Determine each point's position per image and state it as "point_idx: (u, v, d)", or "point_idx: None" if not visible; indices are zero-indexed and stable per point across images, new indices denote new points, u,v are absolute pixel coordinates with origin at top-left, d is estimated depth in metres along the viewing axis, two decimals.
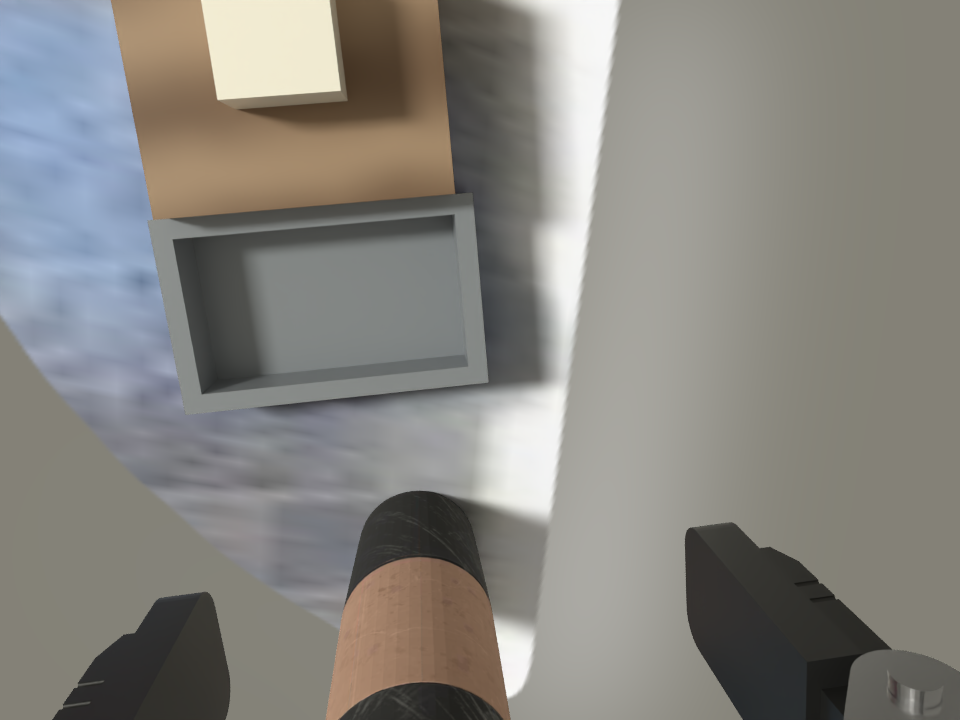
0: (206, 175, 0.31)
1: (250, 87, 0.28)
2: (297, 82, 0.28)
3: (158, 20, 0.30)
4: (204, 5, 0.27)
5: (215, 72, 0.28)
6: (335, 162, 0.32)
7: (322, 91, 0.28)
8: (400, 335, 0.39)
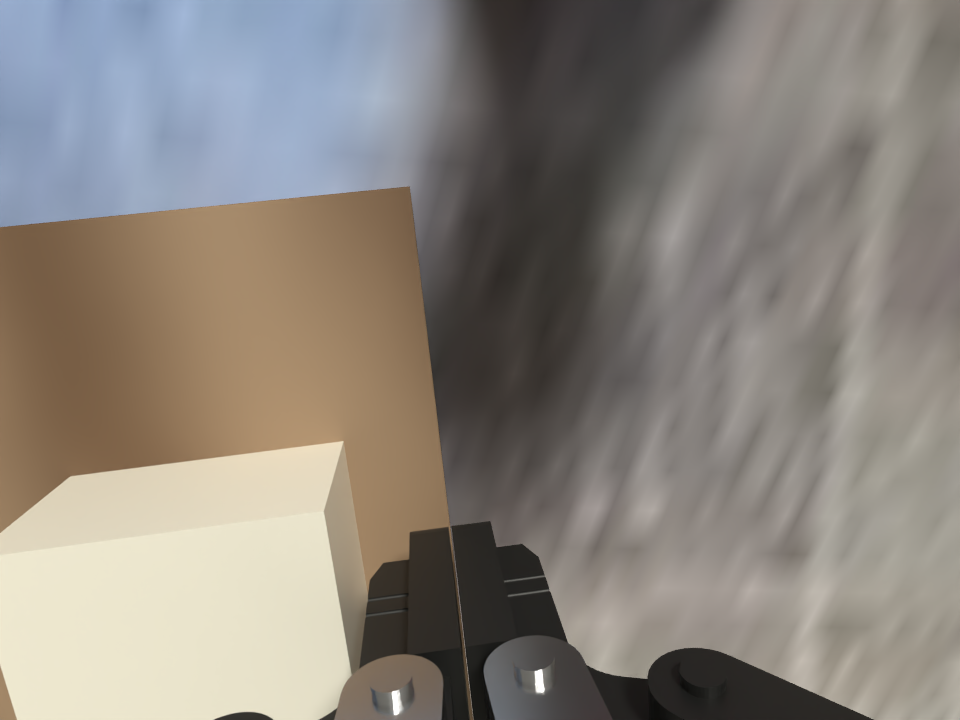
0: None
1: (21, 640, 0.10)
2: None
3: (275, 306, 0.12)
4: (221, 532, 0.10)
5: (45, 556, 0.10)
6: None
7: None
8: None
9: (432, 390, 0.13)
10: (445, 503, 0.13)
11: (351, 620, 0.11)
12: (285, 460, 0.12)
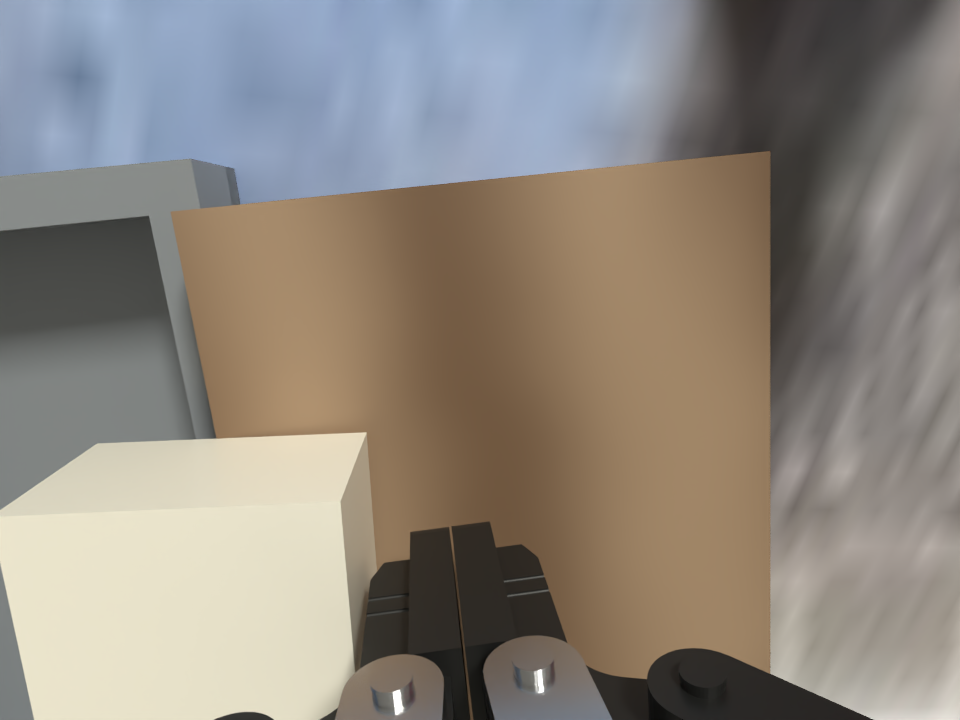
0: (299, 351, 0.13)
1: (35, 601, 0.10)
2: (61, 710, 0.11)
3: (642, 263, 0.13)
4: (237, 514, 0.10)
5: (64, 520, 0.10)
6: None
7: None
8: None
9: None
10: (768, 449, 0.14)
11: (359, 613, 0.11)
12: (307, 446, 0.12)
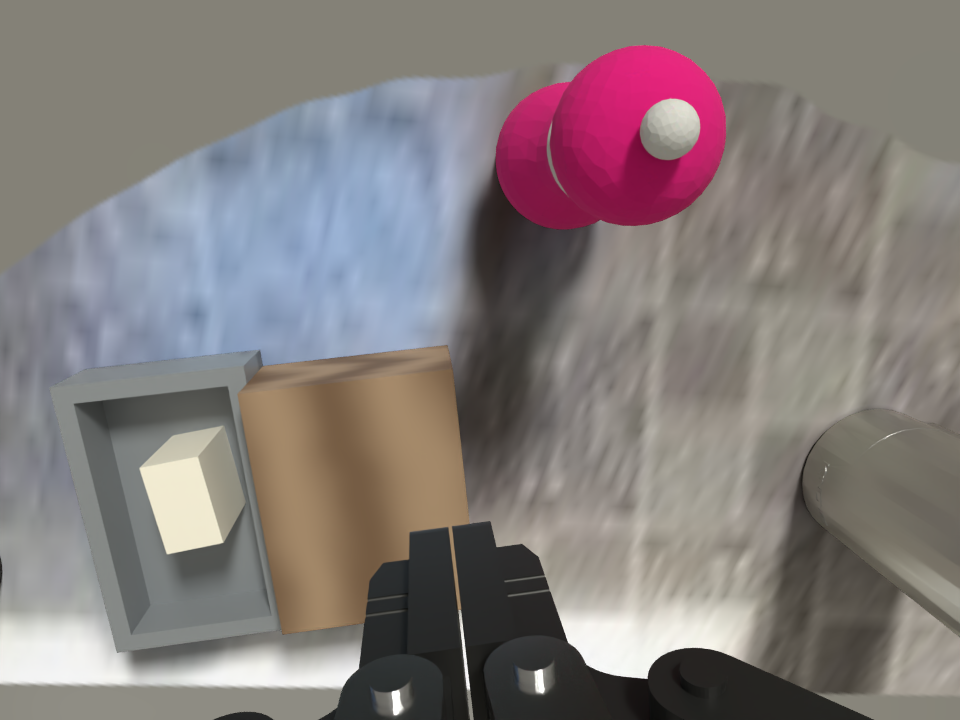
0: (280, 440, 0.35)
1: None
2: None
3: (406, 408, 0.36)
4: None
5: None
6: (300, 542, 0.37)
7: None
8: (163, 550, 0.41)
9: (459, 437, 0.36)
10: (463, 477, 0.37)
11: (167, 506, 0.36)
12: (191, 452, 0.36)
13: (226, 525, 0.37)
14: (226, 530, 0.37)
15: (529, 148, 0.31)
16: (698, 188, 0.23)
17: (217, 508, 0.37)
